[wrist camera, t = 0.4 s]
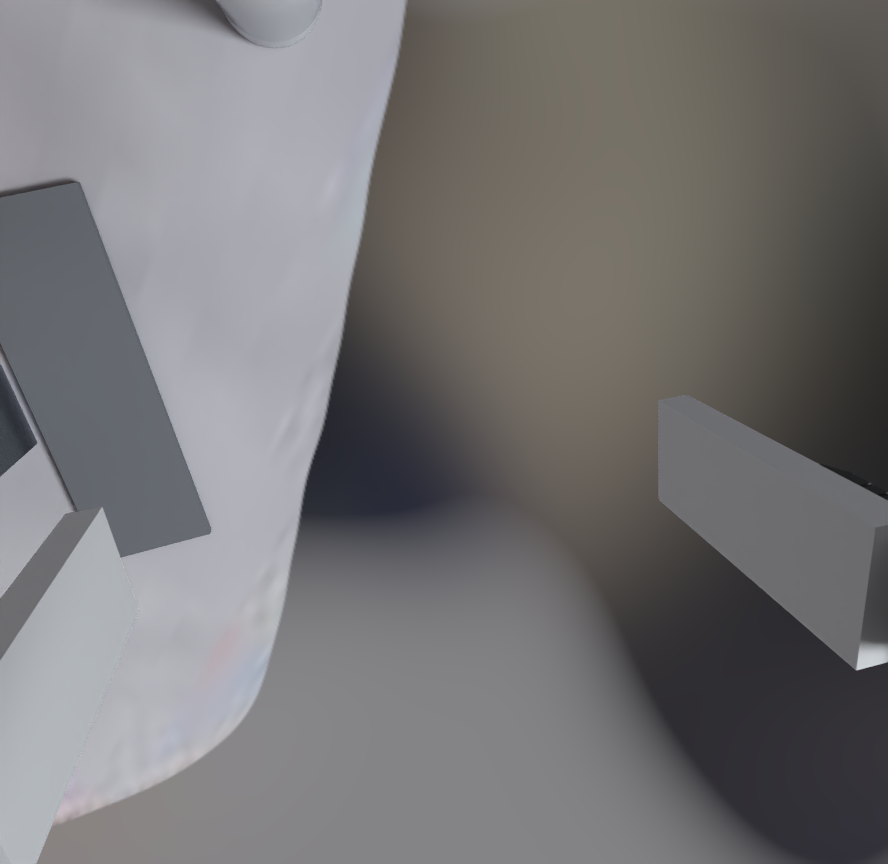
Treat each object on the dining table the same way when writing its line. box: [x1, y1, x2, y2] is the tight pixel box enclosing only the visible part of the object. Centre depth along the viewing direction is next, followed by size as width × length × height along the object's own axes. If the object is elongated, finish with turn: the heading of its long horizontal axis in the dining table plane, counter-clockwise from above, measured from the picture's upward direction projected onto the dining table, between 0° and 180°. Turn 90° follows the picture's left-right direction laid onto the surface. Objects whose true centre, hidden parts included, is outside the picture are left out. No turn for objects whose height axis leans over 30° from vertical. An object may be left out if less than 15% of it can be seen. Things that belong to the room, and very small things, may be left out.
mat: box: [0, 182, 211, 558], centre depth 38 cm, size 22×7×1 cm, turn 11°
